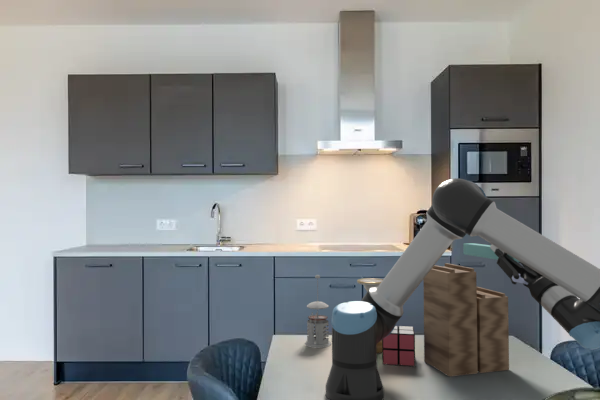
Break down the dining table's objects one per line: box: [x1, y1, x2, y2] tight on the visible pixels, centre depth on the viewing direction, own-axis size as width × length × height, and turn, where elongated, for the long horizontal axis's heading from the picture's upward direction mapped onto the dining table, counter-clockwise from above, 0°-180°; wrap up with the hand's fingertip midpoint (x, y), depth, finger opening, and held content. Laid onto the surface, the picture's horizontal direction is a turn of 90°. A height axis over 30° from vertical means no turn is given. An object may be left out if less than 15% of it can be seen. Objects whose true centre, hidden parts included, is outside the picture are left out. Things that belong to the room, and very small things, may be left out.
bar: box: [462, 242, 520, 262], centre depth 140 cm, size 24×4×4 cm, turn 15°
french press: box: [304, 274, 332, 349], centre depth 166 cm, size 10×12×25 cm
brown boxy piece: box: [422, 262, 510, 377], centre depth 143 cm, size 20×14×31 cm
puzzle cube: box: [381, 325, 416, 367], centre depth 148 cm, size 10×10×10 cm
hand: (498, 243), depth 137 cm, fingers closed on bar, 3 cm apart
